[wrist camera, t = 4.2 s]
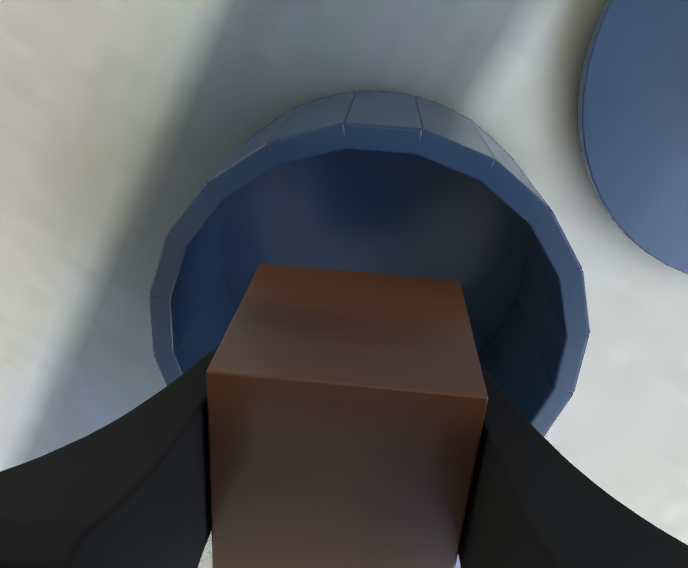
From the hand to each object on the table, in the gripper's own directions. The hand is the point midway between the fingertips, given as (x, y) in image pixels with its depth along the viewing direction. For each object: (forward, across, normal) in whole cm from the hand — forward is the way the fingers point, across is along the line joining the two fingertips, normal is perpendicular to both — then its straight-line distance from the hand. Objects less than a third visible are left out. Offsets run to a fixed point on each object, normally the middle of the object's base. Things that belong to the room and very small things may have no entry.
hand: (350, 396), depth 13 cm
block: (+2, 0, 0) cm, 2 cm away
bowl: (+9, 0, +1) cm, 9 cm away
